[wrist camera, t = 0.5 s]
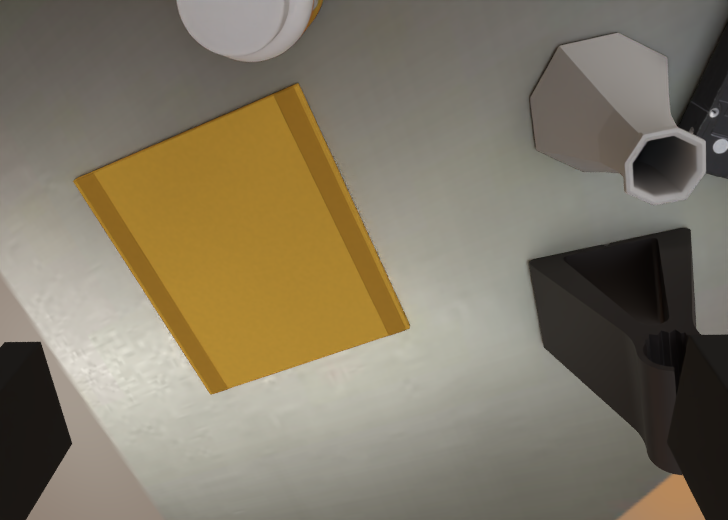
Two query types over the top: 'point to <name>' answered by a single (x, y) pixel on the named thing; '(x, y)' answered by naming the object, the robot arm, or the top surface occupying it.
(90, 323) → the top surface
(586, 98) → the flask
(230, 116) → the yellow tray
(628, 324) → the phone stand
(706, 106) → the disk drive
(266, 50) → the supplement bottle
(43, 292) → the top surface
